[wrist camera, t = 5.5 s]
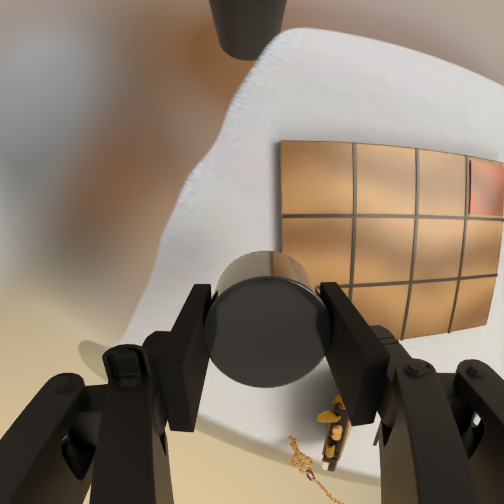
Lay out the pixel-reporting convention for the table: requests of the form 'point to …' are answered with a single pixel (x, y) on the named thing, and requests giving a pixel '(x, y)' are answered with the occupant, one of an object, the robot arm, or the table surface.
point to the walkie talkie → (327, 441)
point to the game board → (396, 230)
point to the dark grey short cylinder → (266, 321)
